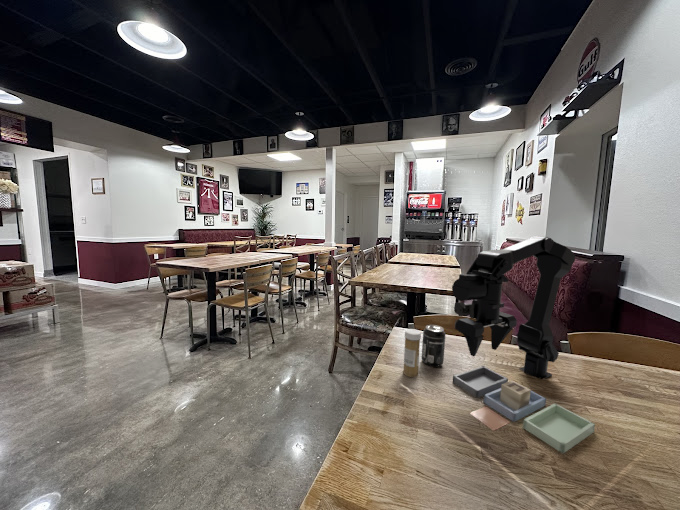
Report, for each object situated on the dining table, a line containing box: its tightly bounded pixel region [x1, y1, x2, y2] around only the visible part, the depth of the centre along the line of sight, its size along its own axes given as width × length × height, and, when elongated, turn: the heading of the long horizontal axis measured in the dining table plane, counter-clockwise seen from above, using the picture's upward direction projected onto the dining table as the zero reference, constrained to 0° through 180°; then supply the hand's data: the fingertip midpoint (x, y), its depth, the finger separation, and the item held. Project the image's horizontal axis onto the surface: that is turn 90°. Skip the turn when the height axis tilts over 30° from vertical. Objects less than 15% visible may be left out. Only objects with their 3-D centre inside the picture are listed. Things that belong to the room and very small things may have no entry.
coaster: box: [469, 405, 511, 432], centre depth 63 cm, size 6×6×1 cm
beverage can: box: [421, 324, 446, 368], centre depth 88 cm, size 7×7×12 cm
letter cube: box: [500, 380, 532, 410], centre depth 68 cm, size 4×4×5 cm
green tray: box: [522, 403, 596, 455], centre depth 60 cm, size 13×8×2 cm, turn 117°
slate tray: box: [483, 388, 547, 423], centre depth 68 cm, size 13×8×2 cm, turn 117°
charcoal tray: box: [452, 365, 509, 398], centre depth 76 cm, size 13×8×2 cm, turn 117°
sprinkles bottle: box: [402, 328, 422, 378], centre depth 81 cm, size 5×5×14 cm
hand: (483, 352), depth 75 cm, fingers open, 9 cm apart
